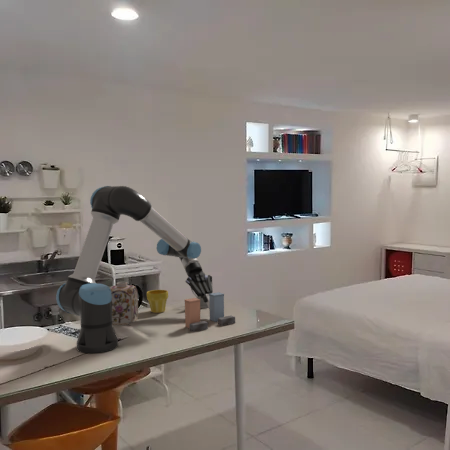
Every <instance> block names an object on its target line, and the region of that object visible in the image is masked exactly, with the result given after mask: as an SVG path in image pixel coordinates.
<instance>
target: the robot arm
mask: <svg viewBox="0 0 450 450" xmlns="http://www.w3.org/2000/svg"><path fill="white" fill-rule="evenodd" d="M89 201H90V208H91V211H90V214H91V216H92V219H91V222H90V225H89V228H88V231H87V234H86V237H85V239H84V243H83V246H82V248H81V252H80V253H79V254H80V255H79V256H78V260H77V262H76V264H75V268H74V271H73V273H72V274H70V275H68V277H67V278H66V282H65V283H63V284H62V285H60V286H59V288H58V289H57V291H56V295H55V298H56V299H55V300H56V304H57V306H58V308H60V309H61V310H62V311H64V312H66V314H67V313H68V314H71V315H75V316H79V317H80V330H79V333H78V337H77V340H76V350H77V349H78V350H79V351H78V350H77V351H78V352H80V351H81V353H83V352H84V353H85V354H99V353H105V352H109V351H112V350H114V349H116V348H117V347H118V345H119V343H118V342H119V341H118V340H119V339H118V337H117V334H116V332H115V328H114V325H112V294H111V289H110V286H108V285H106V284H103V283H96V277H97V273H98V270H99V268H100V266H101V262H102V258H103V256H104V252H105V250H106V248H107V244H108V241H109V238H110V236H111V232H112V229H113V227H114V225H116V224H117V223H118V222H119V220H120V217H121V215H123V216H127V217H130V218H131V219H133V220H134V221H136V222H140V223H142V225H144V226H146V227H147V228H148V229H149V230H150V231H152V232H153V234H155V235H156V236H158V237H159V238H160V239H159V240H158V242H157V243H156V251H157V253H158V254H159V255H162V256H167V257H168V256H169V257H175V258H179V260H180V261H181V264H182V266H183V268H184V271H185V273H186V275H187V278H186V280H185V281H184V282H185V283H186V284H187V285H188V286H189V287H191V288H192V290H193V292H194V293H195V294H196V296H198V297H199V296H201V298H203V300H204V302H205V303H207V306H208V308H207V309H208V310H210V303H209V294H211V293H212V292H213V293H214V291H213V290H214V289H213V290H212V285H211V281H210V276H211V274H208V275H207V274H205V272H204V271H203V268H202V266H201V264H200V262H199V259H198V258H199V256H200V255H201V253H202V246H201V244H200V243H198V242H196V241H191V240H190V239H188V237H186V236H185V235H184V234H183V233H182V232H181V231H180V230H178V229H177V228H176V227H175V226H174V225H173V224H171V222H169V221H168V220H167V219H166V218H165V217H164V216H163V215H161V214H160V213H159V212H158V211H157V210H155V208H154V207H153V204H152V202H151V201H149V200H148V199H147V198H146V197H144V196H143V194H141V193H140V192H138V191H137V190H135V189H134V188H131V187H130V186H127V185H116V186H115V185H114V186H111V185H105V186H101V187H99V188H97V189H95V190H94V191H93V192H92V194H91V196H90V200H89ZM204 278H205V280H206V283H205V280H204ZM191 288H190V289H191ZM192 290H191V291H192Z"/></svg>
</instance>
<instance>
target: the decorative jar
mask: <svg viewBox="0 0 450 450" xmlns="http://www.w3.org/2000/svg"><path fill="white" fill-rule="evenodd" d="M109 288H110V289H111V294H112V325H113V326H131V324H129V323H134V322H137V320H138V319H139V300H138V299H139V298H138V297H139V296H138V289H137V287H136V286H134V285H131V284H128V281H118V282H116V284H115V285H112V286H109Z"/></svg>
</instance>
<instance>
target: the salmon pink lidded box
mask: <svg viewBox="0 0 450 450" xmlns="http://www.w3.org/2000/svg"><path fill="white" fill-rule="evenodd" d="M184 311H185V312H184V318H185V319H184V321H185V324H184V325H185V328H187V329H188V330H190V326H189V324H191V323H196V322H201V308H200V299H197V298H196V297H191V298H186V299H184Z"/></svg>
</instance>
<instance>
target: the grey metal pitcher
mask: <svg viewBox="0 0 450 450" xmlns="http://www.w3.org/2000/svg"><path fill="white" fill-rule="evenodd" d="M204 280H205V278H204ZM210 281H211V285H212V290H214V287H213V286H214V285H213V276H211V275H210ZM205 283H206V280H205ZM189 287H190V286H189ZM190 291H191V293H192V294H193V295H194V297H195V298H197V299H200V309H209V308H208V306H207V303H205V302H204V300H203V298H201V296H199V297H198V296H197V295H196V294H195V292H194V291H193V290H192V288H191V287H190ZM212 293H214V291H213V292H212Z"/></svg>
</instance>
